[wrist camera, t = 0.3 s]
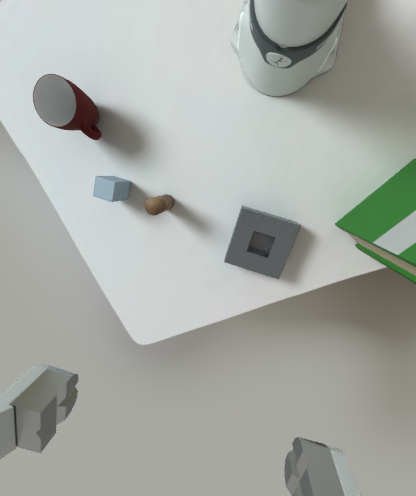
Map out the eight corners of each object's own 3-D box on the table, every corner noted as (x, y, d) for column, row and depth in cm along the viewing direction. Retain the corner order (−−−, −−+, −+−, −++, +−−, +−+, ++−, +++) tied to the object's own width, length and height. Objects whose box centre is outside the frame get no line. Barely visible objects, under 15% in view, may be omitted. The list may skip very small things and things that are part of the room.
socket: (242, 205, 51) (242, 207, 48) (296, 222, 51) (300, 225, 47) (225, 256, 55) (224, 261, 51) (275, 271, 55) (278, 279, 51)
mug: (124, 123, 50) (97, 111, 40) (102, 153, 52) (71, 148, 43) (85, 84, 49) (47, 61, 39) (64, 116, 51) (24, 102, 41)
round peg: (161, 192, 53) (146, 195, 44) (175, 197, 53) (163, 200, 44) (158, 206, 54) (143, 212, 45) (172, 210, 54) (159, 217, 45)
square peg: (113, 176, 53) (95, 176, 47) (130, 181, 53) (115, 181, 46) (111, 193, 54) (93, 196, 48) (127, 198, 54) (111, 201, 48)
